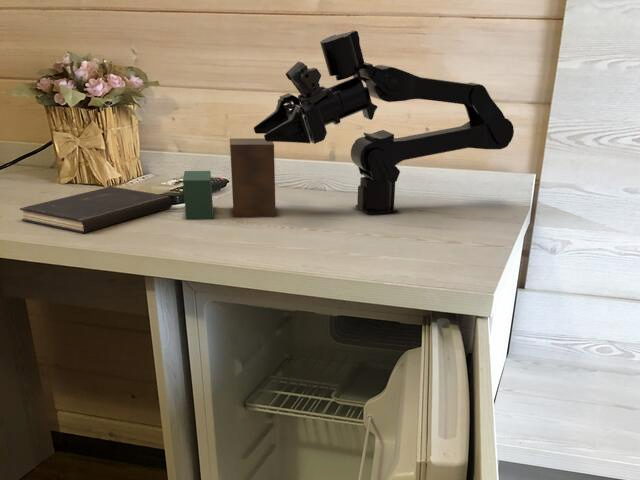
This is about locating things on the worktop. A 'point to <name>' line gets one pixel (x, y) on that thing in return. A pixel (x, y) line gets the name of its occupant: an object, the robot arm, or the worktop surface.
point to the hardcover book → (95, 209)
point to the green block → (198, 194)
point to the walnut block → (253, 177)
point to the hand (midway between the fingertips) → (259, 134)
